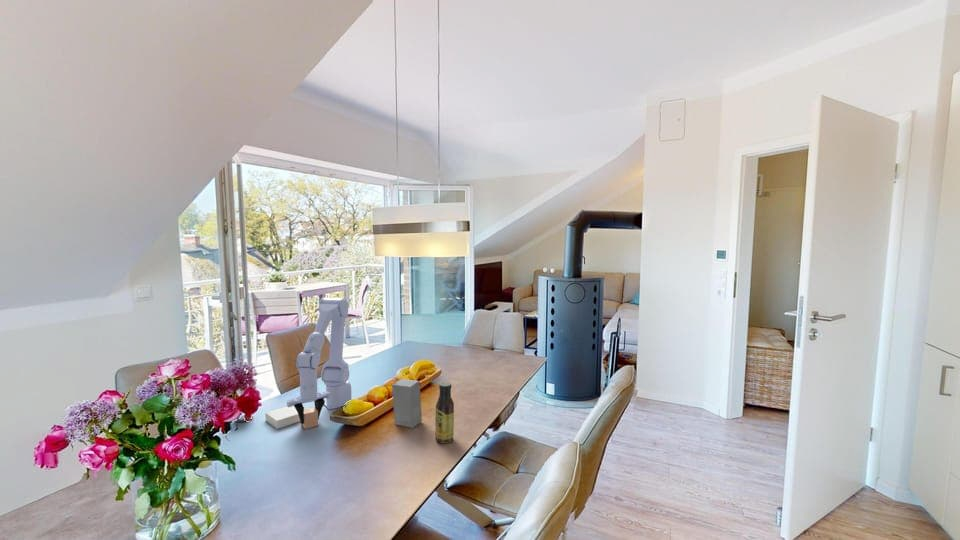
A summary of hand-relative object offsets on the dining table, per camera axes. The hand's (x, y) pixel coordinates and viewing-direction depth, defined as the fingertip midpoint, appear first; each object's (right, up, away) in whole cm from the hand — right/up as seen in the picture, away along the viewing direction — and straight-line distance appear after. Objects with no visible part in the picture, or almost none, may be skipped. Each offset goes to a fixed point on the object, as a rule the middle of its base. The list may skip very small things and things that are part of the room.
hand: (309, 421), depth 150 cm
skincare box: (+35, -2, +2) cm, 35 cm away
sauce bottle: (+50, -3, -10) cm, 51 cm away
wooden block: (0, -1, 0) cm, 1 cm away
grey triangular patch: (-26, -1, +5) cm, 27 cm away
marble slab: (-11, -1, +4) cm, 12 cm away
